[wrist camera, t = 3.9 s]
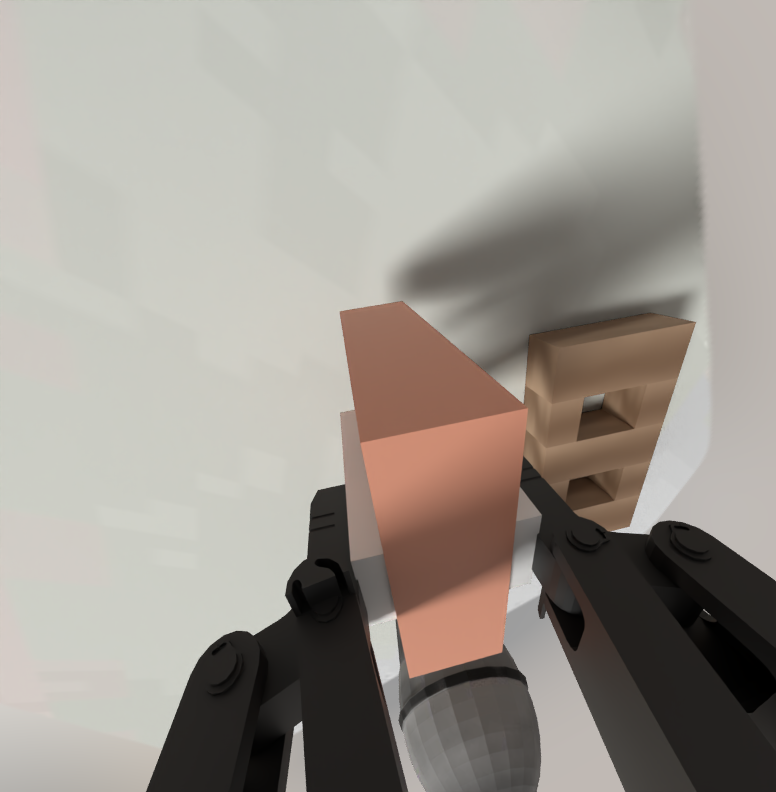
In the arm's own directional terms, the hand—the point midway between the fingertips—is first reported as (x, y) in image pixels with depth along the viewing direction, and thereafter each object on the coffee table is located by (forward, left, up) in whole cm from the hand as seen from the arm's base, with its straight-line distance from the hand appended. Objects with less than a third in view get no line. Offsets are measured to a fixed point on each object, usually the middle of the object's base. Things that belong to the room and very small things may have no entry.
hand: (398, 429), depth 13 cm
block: (0, 0, -4) cm, 4 cm away
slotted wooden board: (+9, +15, -7) cm, 19 cm away
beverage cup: (+16, +1, -8) cm, 17 cm away
